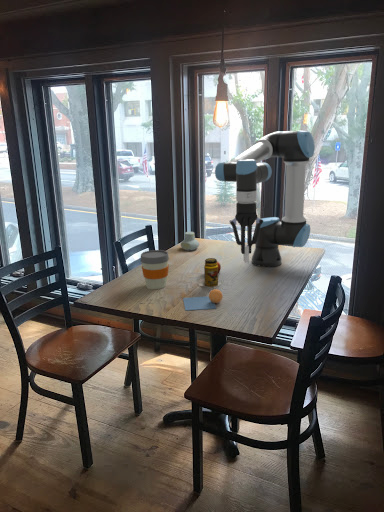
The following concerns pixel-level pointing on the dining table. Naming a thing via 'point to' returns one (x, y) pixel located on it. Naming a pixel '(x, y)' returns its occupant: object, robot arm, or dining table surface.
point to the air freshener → (189, 241)
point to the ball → (215, 296)
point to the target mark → (198, 303)
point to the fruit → (218, 267)
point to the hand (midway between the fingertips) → (246, 261)
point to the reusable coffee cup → (155, 268)
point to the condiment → (210, 273)
